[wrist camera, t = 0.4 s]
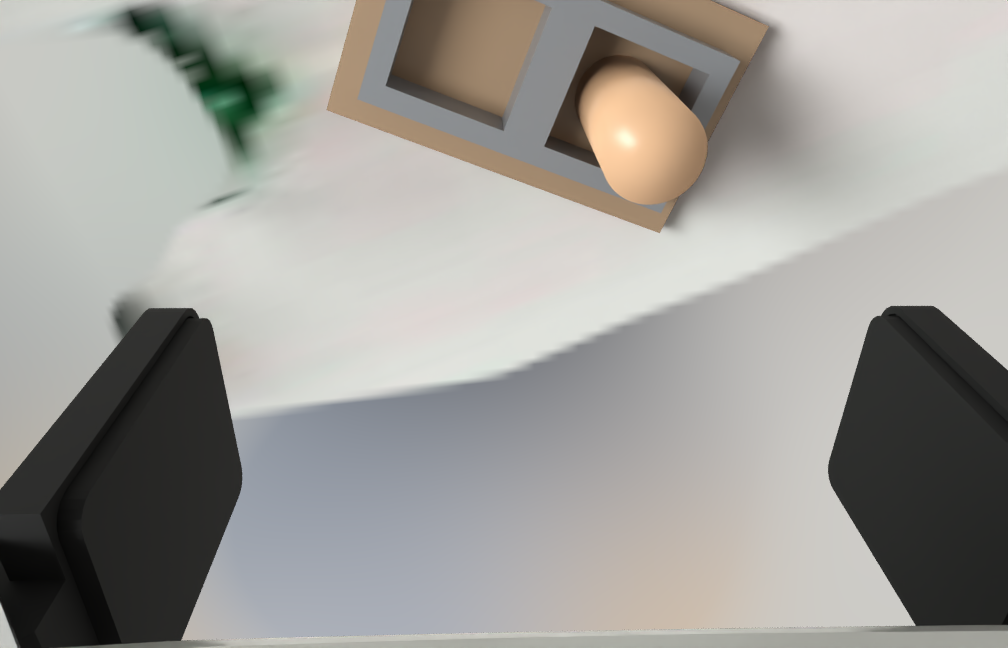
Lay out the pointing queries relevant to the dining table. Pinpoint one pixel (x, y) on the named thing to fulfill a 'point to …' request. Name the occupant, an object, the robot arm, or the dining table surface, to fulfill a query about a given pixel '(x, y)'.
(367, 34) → the housing
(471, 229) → the dining table surface
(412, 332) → the dining table surface
